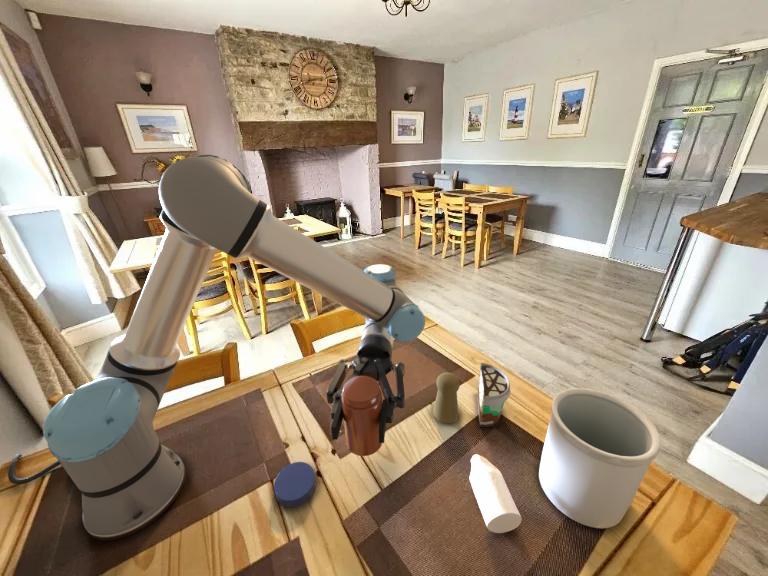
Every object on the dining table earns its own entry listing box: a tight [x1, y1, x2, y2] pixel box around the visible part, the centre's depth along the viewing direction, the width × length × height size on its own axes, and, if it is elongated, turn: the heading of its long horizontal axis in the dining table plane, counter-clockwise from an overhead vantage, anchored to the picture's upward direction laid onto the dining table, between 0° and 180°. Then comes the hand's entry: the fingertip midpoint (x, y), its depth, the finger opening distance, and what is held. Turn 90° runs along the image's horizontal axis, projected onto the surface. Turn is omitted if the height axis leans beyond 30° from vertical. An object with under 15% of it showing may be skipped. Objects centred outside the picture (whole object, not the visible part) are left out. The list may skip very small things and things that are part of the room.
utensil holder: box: [538, 387, 662, 529], centre depth 54 cm, size 15×15×18 cm
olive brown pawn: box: [432, 371, 461, 424], centre depth 72 cm, size 6×6×11 cm
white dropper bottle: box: [468, 453, 523, 534], centre depth 56 cm, size 6×12×6 cm, turn 6°
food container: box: [476, 362, 511, 428], centre depth 72 cm, size 12×6×10 cm, turn 168°
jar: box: [341, 376, 384, 457], centre depth 54 cm, size 7×7×12 cm
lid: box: [273, 461, 317, 508], centre depth 59 cm, size 8×8×2 cm
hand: (357, 435), depth 49 cm, fingers closed on jar, 7 cm apart
